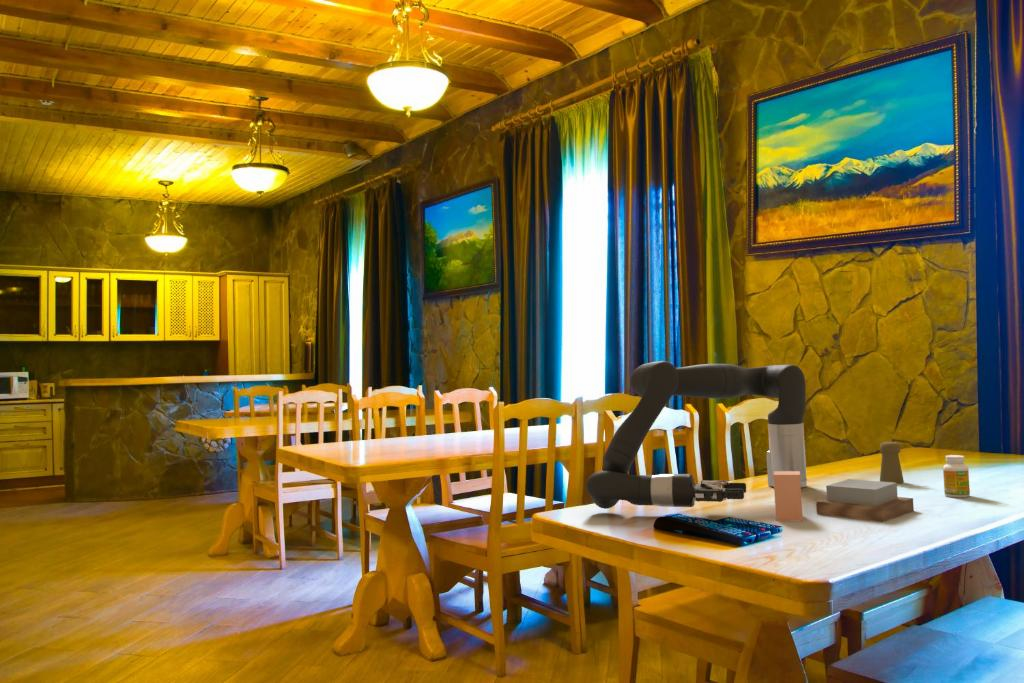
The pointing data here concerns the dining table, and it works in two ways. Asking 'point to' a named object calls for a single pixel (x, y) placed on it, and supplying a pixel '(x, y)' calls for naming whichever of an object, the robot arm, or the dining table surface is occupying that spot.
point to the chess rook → (890, 463)
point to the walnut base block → (866, 509)
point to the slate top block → (862, 492)
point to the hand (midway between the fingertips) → (745, 490)
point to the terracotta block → (788, 495)
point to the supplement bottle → (956, 477)
